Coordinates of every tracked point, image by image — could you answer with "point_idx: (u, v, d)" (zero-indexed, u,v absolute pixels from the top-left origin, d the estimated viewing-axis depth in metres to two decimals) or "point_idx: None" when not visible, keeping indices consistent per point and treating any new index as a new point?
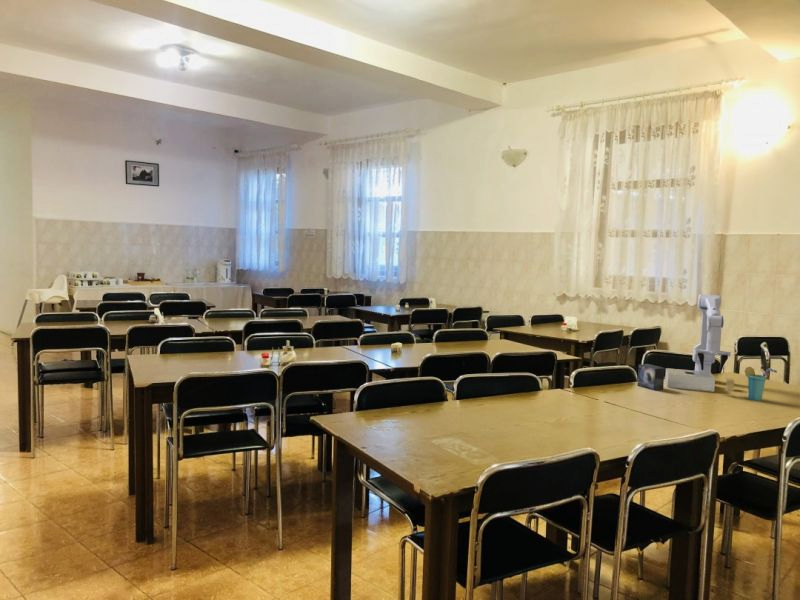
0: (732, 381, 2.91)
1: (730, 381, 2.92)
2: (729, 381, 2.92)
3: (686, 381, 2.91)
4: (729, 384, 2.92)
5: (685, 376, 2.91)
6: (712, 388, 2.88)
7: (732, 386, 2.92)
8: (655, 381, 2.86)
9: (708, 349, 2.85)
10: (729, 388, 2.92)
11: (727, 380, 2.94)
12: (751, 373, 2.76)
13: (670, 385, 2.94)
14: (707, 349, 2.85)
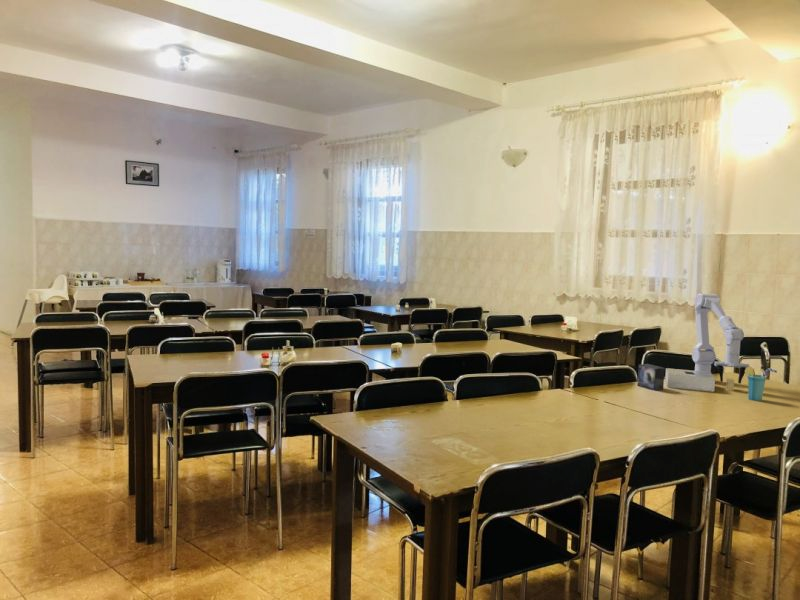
0: (732, 381, 2.91)
1: (730, 381, 2.92)
2: (729, 381, 2.92)
3: (686, 381, 2.91)
4: (729, 384, 2.92)
5: (685, 376, 2.91)
6: (712, 388, 2.88)
7: (732, 386, 2.92)
8: (655, 381, 2.86)
9: (727, 361, 2.92)
10: (729, 388, 2.92)
11: (727, 380, 2.94)
12: (751, 373, 2.76)
13: (670, 385, 2.94)
14: (726, 361, 2.93)
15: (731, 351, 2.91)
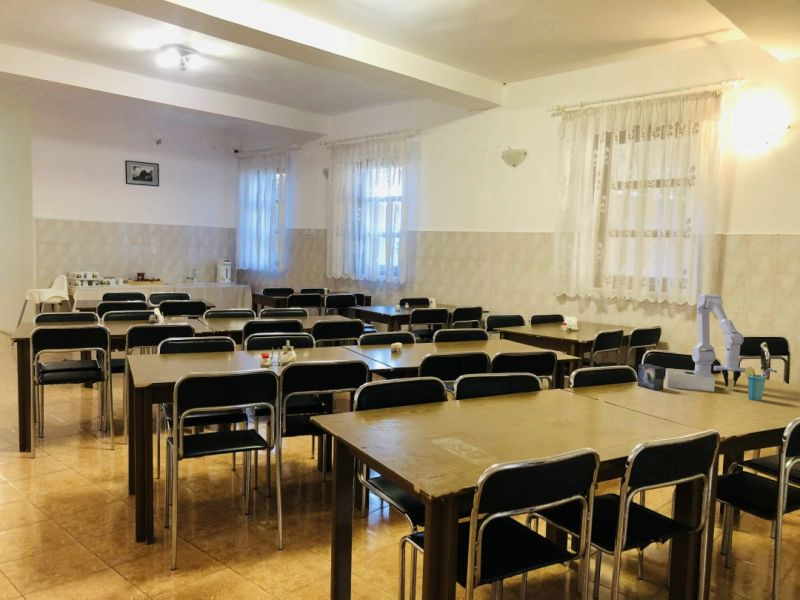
0: (733, 381, 2.91)
1: (730, 381, 2.92)
2: (729, 381, 2.92)
3: (686, 381, 2.91)
4: (729, 384, 2.92)
5: (685, 376, 2.91)
6: (712, 388, 2.88)
7: (733, 386, 2.92)
8: (655, 381, 2.86)
9: (727, 366, 2.92)
10: (729, 388, 2.92)
11: None
12: (751, 373, 2.76)
13: (670, 385, 2.94)
14: (726, 366, 2.93)
15: (731, 356, 2.91)
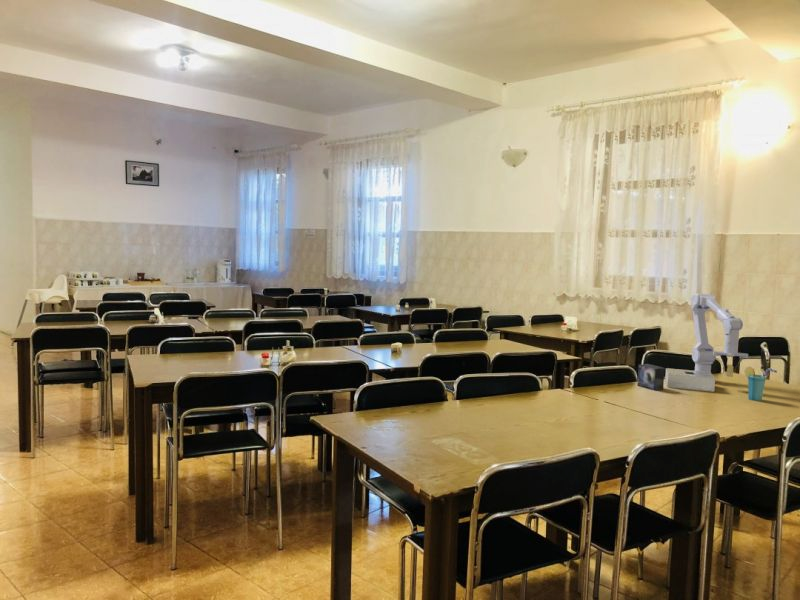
0: (732, 367, 2.91)
1: (729, 367, 2.91)
2: (728, 367, 2.92)
3: (686, 381, 2.91)
4: (728, 370, 2.92)
5: (685, 376, 2.91)
6: (712, 388, 2.88)
7: (732, 372, 2.91)
8: (655, 381, 2.86)
9: (726, 351, 2.92)
10: (728, 374, 2.92)
11: None
12: (751, 373, 2.76)
13: (670, 385, 2.94)
14: (725, 351, 2.93)
15: (730, 341, 2.91)
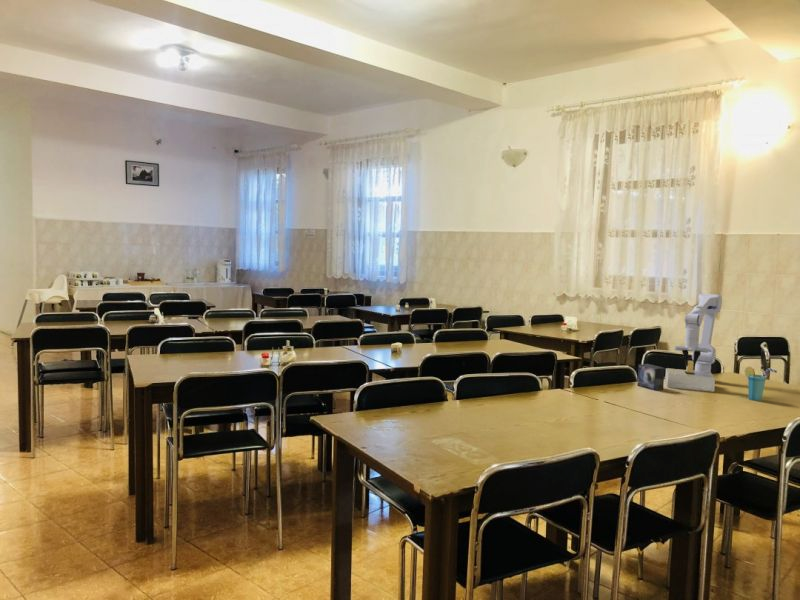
0: (692, 363, 2.96)
1: (689, 363, 2.96)
2: (689, 363, 2.97)
3: (686, 381, 2.91)
4: (689, 366, 2.97)
5: (685, 376, 2.91)
6: (712, 388, 2.88)
7: (692, 368, 2.96)
8: (655, 381, 2.86)
9: (687, 346, 2.96)
10: (689, 370, 2.97)
11: None
12: (751, 373, 2.76)
13: (670, 385, 2.94)
14: (686, 346, 2.96)
15: (686, 335, 2.96)
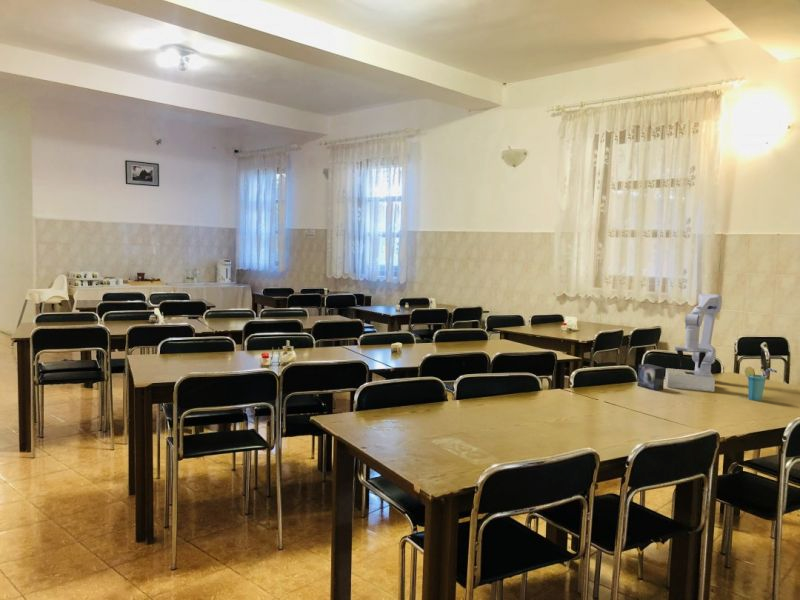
0: None
1: None
2: None
3: (686, 381, 2.91)
4: None
5: (685, 376, 2.91)
6: (712, 388, 2.88)
7: None
8: (655, 381, 2.86)
9: (687, 346, 2.96)
10: None
11: None
12: (751, 373, 2.76)
13: (670, 385, 2.94)
14: (686, 346, 2.96)
15: (686, 335, 2.97)
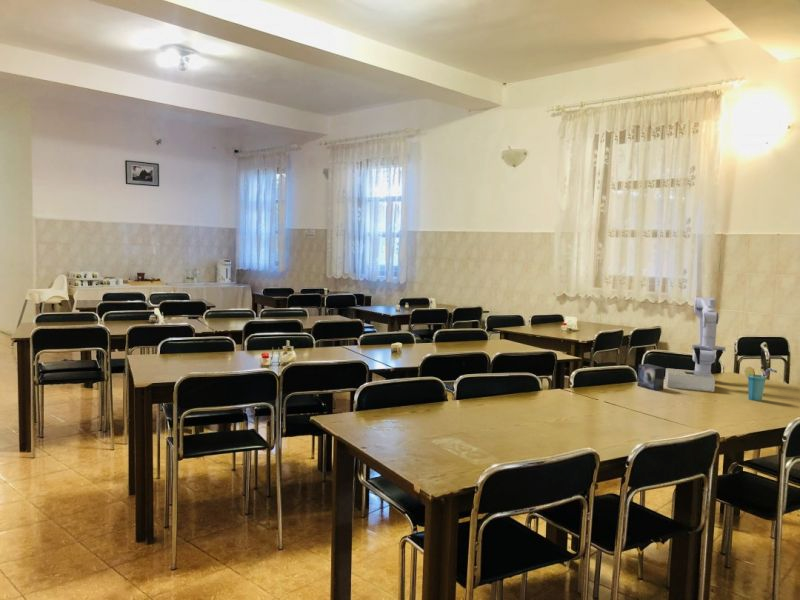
0: None
1: None
2: None
3: (686, 381, 2.91)
4: None
5: (685, 376, 2.91)
6: (712, 388, 2.88)
7: None
8: (655, 381, 2.86)
9: (704, 344, 2.98)
10: None
11: None
12: (751, 373, 2.76)
13: (670, 385, 2.94)
14: (703, 344, 2.99)
15: (704, 333, 2.98)
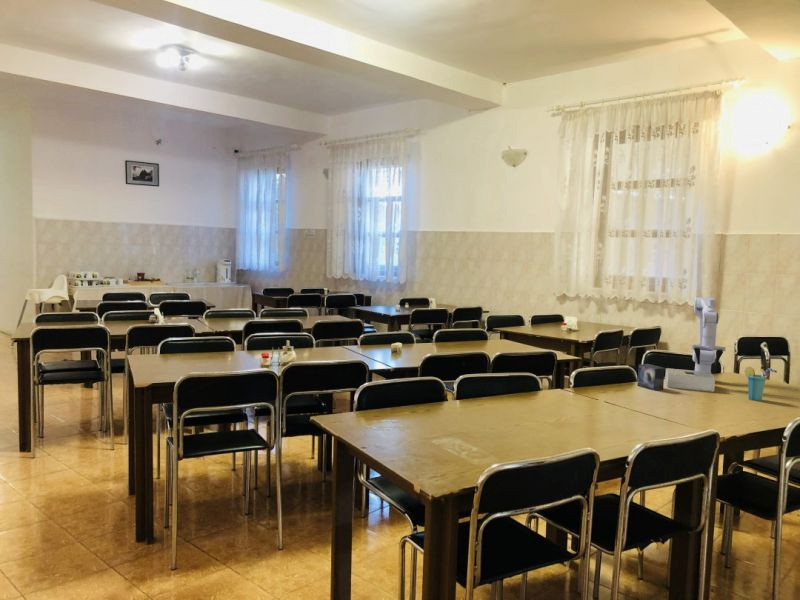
0: None
1: None
2: None
3: (686, 381, 2.91)
4: None
5: (685, 376, 2.91)
6: (712, 388, 2.88)
7: None
8: (655, 381, 2.86)
9: (704, 344, 2.98)
10: None
11: None
12: (751, 373, 2.76)
13: (670, 385, 2.94)
14: (703, 344, 2.99)
15: (704, 333, 2.98)
